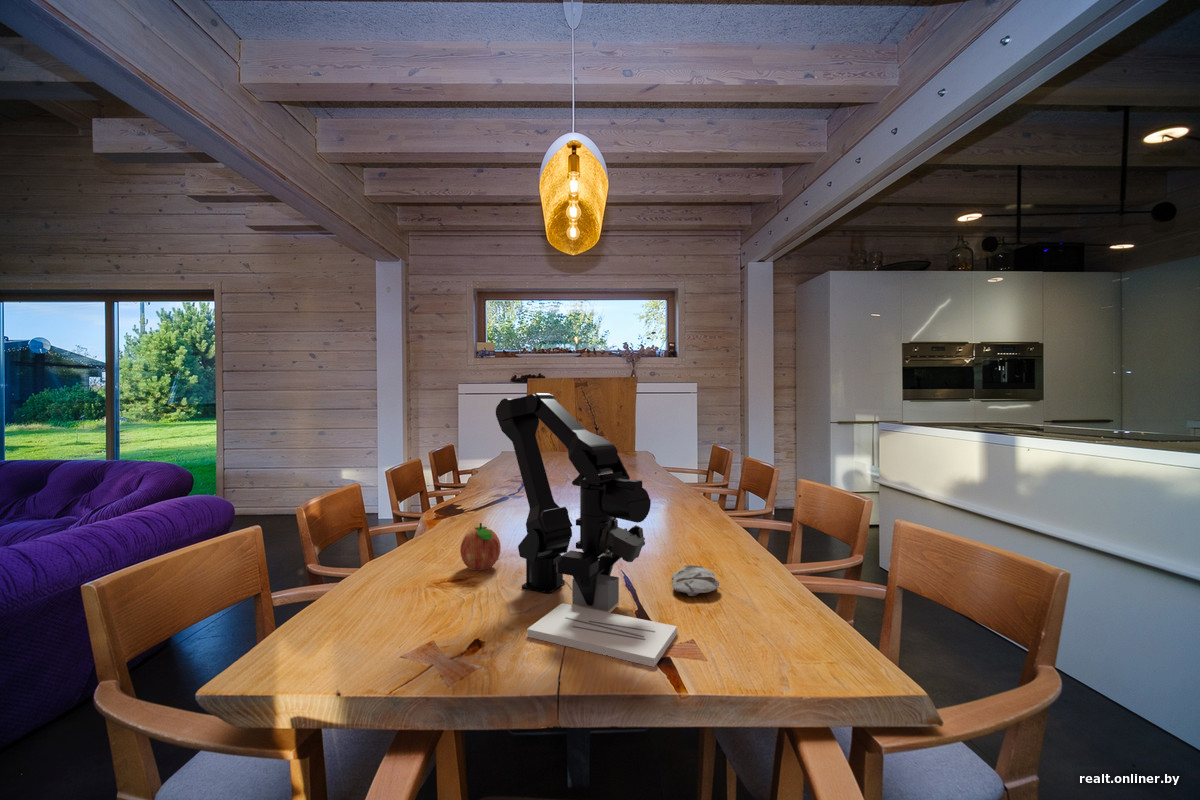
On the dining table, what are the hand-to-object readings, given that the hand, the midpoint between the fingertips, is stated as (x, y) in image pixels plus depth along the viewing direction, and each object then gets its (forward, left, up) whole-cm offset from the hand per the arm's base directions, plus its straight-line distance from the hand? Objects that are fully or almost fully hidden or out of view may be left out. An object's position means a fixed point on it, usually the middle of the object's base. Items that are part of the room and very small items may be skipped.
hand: (596, 600), depth 90 cm
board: (+5, -9, -1) cm, 11 cm away
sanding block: (0, 0, -1) cm, 1 cm away
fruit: (-32, +8, -2) cm, 33 cm away
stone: (+13, +17, -2) cm, 22 cm away
